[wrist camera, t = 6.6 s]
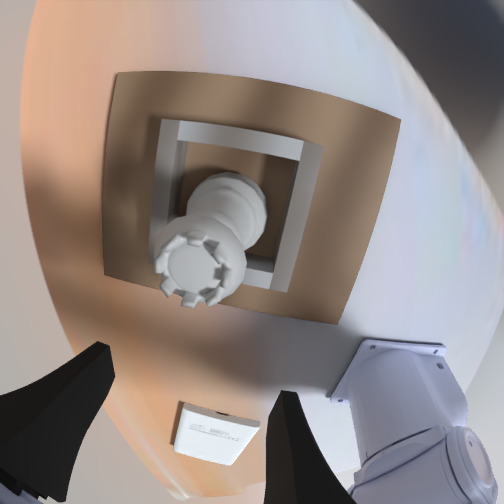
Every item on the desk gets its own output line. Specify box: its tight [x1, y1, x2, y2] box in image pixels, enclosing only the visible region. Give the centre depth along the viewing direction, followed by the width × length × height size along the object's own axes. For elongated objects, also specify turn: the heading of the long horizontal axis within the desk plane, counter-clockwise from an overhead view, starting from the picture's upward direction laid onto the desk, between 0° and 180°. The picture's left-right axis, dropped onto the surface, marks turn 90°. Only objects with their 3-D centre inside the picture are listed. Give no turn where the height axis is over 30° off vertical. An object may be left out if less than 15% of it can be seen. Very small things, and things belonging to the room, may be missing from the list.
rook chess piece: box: [153, 172, 269, 309], centre depth 12 cm, size 4×4×8 cm
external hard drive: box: [173, 402, 260, 465], centre depth 27 cm, size 2×8×12 cm
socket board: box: [102, 71, 401, 325], centre depth 15 cm, size 17×14×3 cm
